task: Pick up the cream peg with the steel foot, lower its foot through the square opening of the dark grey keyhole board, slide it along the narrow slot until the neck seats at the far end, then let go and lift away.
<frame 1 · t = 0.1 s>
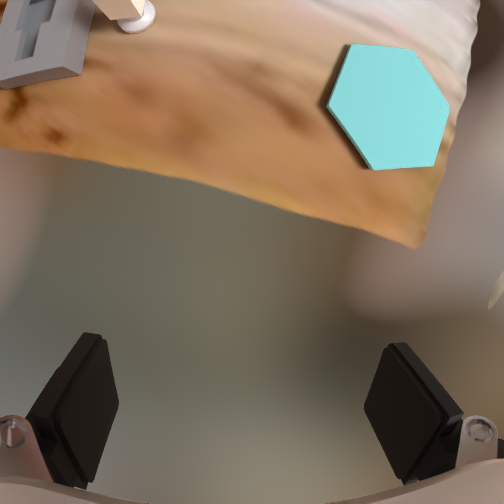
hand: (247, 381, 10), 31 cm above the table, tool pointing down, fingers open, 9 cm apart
plaque: (390, 106, 37), on the table
keyhole board: (50, 35, 29), on the table
keyhole peg: (138, 18, 31), on the table
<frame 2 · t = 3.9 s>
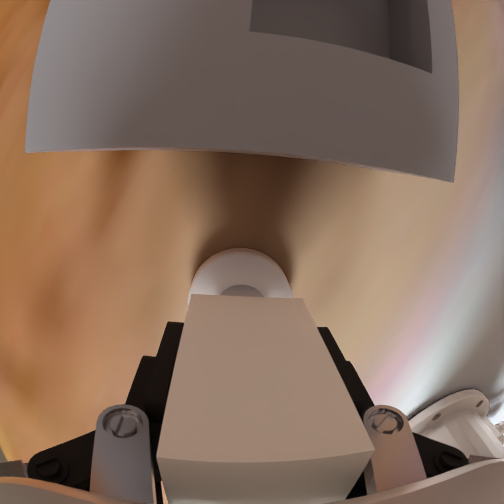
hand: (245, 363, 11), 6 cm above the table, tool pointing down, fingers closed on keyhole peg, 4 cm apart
keyhole board: (251, 18, 12), on the table
keyhole peg: (239, 294, 16), on the table, touching gripper
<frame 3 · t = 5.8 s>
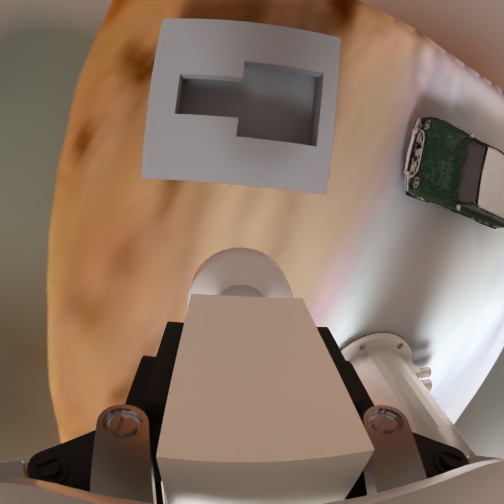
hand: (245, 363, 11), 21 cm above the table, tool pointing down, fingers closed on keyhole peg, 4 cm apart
keyhole board: (241, 108, 28), on the table
keyhole peg: (239, 294, 16), point 16 cm above the table, touching gripper
miniature car: (456, 175, 31), on the table
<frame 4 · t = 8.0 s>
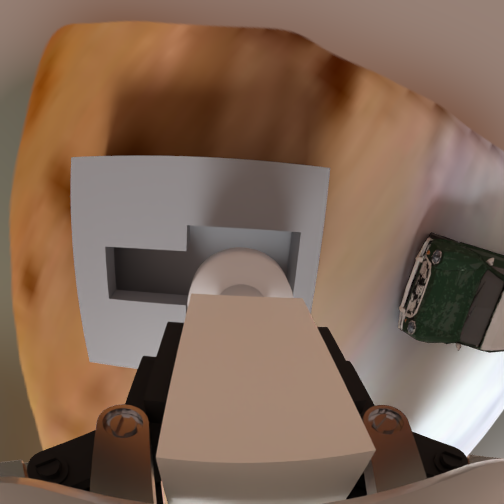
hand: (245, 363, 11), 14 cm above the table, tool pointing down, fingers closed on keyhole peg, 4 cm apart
keyhole board: (198, 252, 23), on the table
keyhole peg: (239, 294, 16), point 8 cm above the table, touching gripper
miniature car: (462, 286, 27), on the table
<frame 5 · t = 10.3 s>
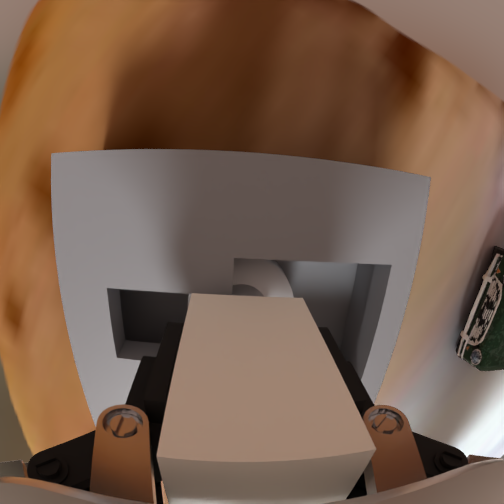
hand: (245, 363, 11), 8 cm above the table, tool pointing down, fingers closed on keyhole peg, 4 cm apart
keyhole board: (232, 282, 18), on the table
keyhole peg: (239, 294, 16), point 2 cm above the table, touching gripper
when the fingers open (7 cm above the table, at t = 12.1 s): keyhole peg stays where it is, resting on keyhole board.
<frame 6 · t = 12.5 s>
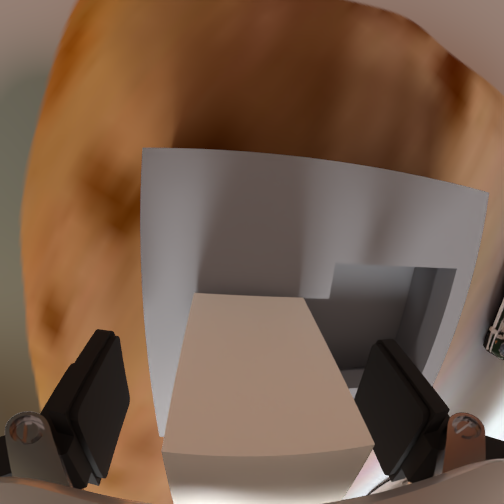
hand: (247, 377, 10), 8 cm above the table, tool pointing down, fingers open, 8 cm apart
keyhole board: (299, 284, 18), on the table
keyhole peg: (241, 294, 16), point 1 cm above the table, touching keyhole board
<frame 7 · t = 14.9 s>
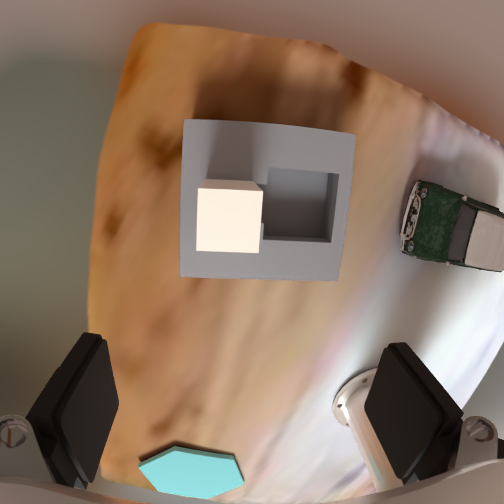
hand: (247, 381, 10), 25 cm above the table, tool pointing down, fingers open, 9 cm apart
plaque: (192, 470, 47), on the table
keyhole board: (260, 195, 32), on the table
keyhole peg: (227, 196, 31), point 1 cm above the table, touching keyhole board
miniature car: (448, 225, 36), on the table
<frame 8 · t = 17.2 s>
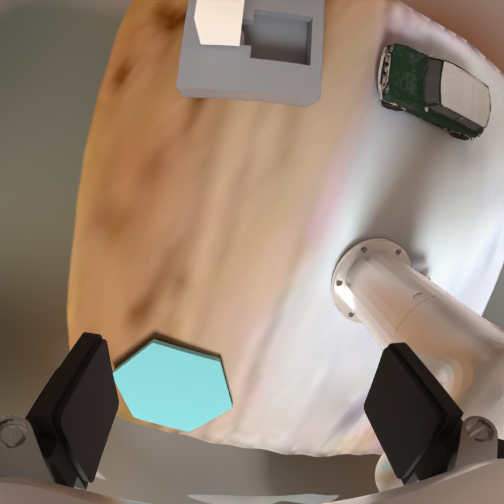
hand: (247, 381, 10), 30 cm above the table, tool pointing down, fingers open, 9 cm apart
plaque: (173, 386, 46), on the table
keyhole board: (250, 48, 33), on the table
keyhole peg: (222, 43, 31), point 1 cm above the table, touching keyhole board
miniature car: (425, 95, 36), on the table
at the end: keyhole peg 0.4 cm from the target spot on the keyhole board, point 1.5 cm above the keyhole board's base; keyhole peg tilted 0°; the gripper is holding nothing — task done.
